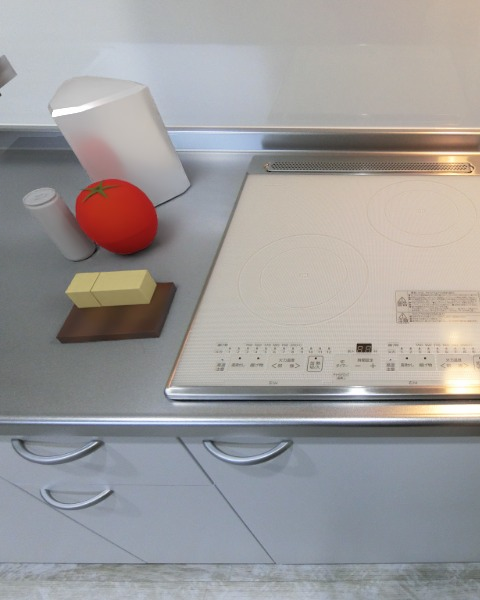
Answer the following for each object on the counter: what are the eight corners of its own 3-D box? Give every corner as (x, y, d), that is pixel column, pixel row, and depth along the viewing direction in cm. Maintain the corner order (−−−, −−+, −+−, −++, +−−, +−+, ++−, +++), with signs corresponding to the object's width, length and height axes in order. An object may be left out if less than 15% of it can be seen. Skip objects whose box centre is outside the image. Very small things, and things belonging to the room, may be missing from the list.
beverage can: (62, 253, 77) (17, 195, 68) (91, 240, 79) (50, 183, 70) (72, 266, 74) (26, 209, 65) (101, 253, 77) (60, 195, 68)
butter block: (102, 306, 66) (90, 291, 64) (112, 287, 69) (100, 271, 66) (149, 303, 67) (139, 288, 64) (157, 284, 69) (147, 269, 67)
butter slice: (78, 308, 66) (64, 292, 64) (88, 288, 69) (76, 273, 66) (102, 306, 66) (89, 291, 64) (111, 287, 69) (99, 271, 66)
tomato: (146, 219, 83) (112, 158, 73) (181, 240, 79) (150, 179, 69) (89, 252, 77) (44, 190, 67) (124, 277, 73) (81, 215, 63)
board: (61, 343, 64) (55, 337, 63) (88, 293, 70) (83, 286, 69) (159, 337, 64) (154, 331, 63) (177, 288, 71) (173, 281, 70)
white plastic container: (193, 184, 90) (146, 73, 74) (151, 227, 81) (87, 111, 65) (130, 174, 93) (71, 65, 76) (83, 215, 84) (4, 100, 67)
